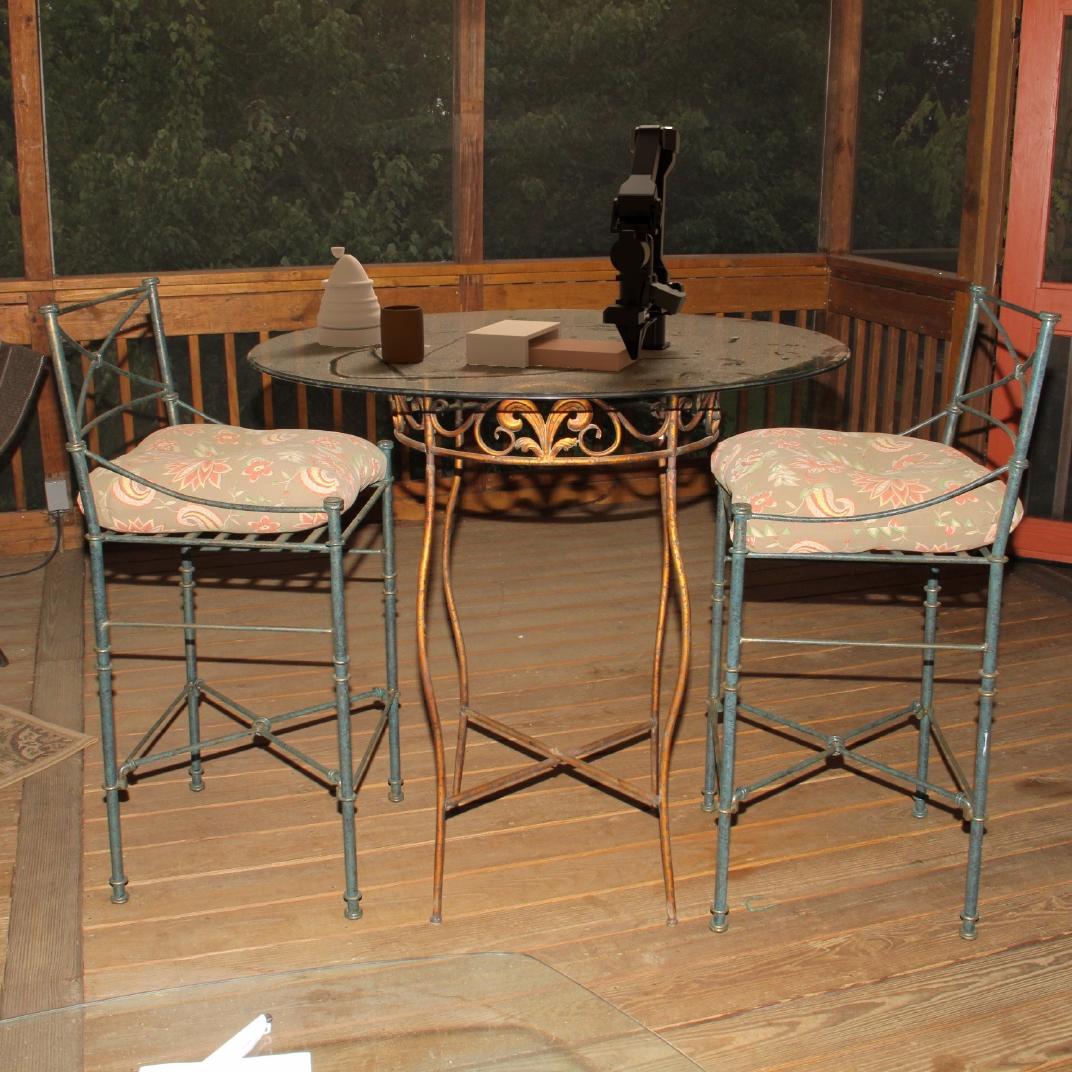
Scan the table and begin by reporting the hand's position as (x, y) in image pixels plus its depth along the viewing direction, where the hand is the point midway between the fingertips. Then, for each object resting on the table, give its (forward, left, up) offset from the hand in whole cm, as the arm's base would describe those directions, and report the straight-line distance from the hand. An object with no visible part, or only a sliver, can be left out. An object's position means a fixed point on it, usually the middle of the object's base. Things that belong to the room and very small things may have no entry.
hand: (634, 359), depth 219 cm
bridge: (0, -22, -1) cm, 22 cm away
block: (0, -10, -2) cm, 10 cm away
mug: (+7, -41, -1) cm, 42 cm away
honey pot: (-7, -59, -1) cm, 60 cm away
